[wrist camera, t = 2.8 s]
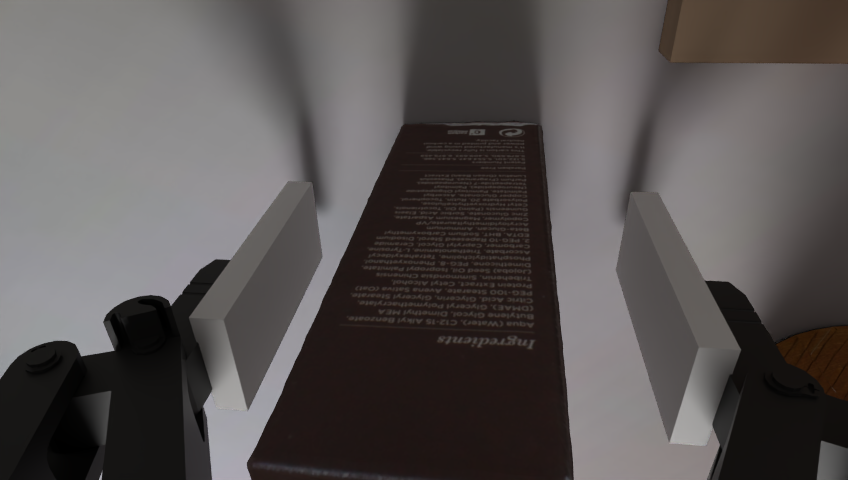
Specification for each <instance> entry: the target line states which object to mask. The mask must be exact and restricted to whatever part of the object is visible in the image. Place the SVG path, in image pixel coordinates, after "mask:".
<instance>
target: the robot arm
mask: <svg viewBox="0 0 848 480" xmlns="http://www.w3.org/2000/svg"><path fill="white" fill-rule="evenodd" d="M321 259H322V249H321V242H320V235H319V228H318V220H317V213H316V206H315V199H314V191H313V184H312V182H294V181H288V182H287V184H286V185H285V186H284V188H283V189H282V191H281V192H280V193H279V195H278V196H277V197H276V199H275V200H274V202H273V203H272V204H271V206H270V207H269V208H268V210H267V211H266V212H265V214H264V215H263V217H262V218H261V219H260V221H259V222H258V223H257V225H256V226H255V228H254V229H253V230H252V232H251V233H250V234H249V236H248V237H247V239H246V240H245V241H244V243H243V244H242V245H241V247H240V248H239V250H238V251H237V252H236V254H235V255H234V256H233V258H232V259H231V260H218V259H216V260H214V261H213V262H211V263H210V264H208V265H207V266H205V267H204V268H202V269H200V270H199V272H198V273H197V274H196V275H195V277H194V278H193V279H192V281H191V282H190V285H189V284H188V286H187V287H186V288H185V289H184V291H183V292H182V295H181V294H180V296H179V297H178V298H177V299H176V301H175V302H174V303H173V304H172V306H170V303H169V301H168V300H167V299H165V298H163V297H161V296H153V295H149V296H140V297H136V298H133V299H130V300H127V301H125V302H123V303H121V304H119V305H117V306H116V307H114V308H113V309H112V310H111V311H110V312H109V313H108V314H107V315H106V317H105V319H104V321H103V323H104V325H105V328H106V330H107V333H108V335H109V337H110V340H111V342H112V345H113V347H114V350H115V351H111V352H105V353H99V354H93V355H87V356H81V355H80V353H79V351H78V349H77V347H76V345H75V344H73V343H71V342H68V341H53V342H48V343H44V344H41V345H38V346H36V347H33V348H31V349H29V350H28V351H26V352H25V353H23V354H22V355H20V356H18V357H17V359H16V360H15V361H14V362H13V363H12V364H11V365H10V366H9V368H8V369H7V370H6V372H5V373H4V375H3V376H2V378H1V379H0V480H99V478H100V475H101V473H102V470H103V473H102V480H212V475H211V463H210V451H209V439H208V427H207V417H206V414H205V411H204V408H203V405H204V403H205V402H206V400H207V398H208V396H209V395H210V393H211V392H212V395H213V398H214V402H215V405H216V408H217V409H227V410H240V411H248V410H249V407H250V405H251V403H252V401H253V399H254V397H255V395H256V393H257V391H258V389H259V387H260V385H261V383H262V381H263V379H264V377H265V374H266V372H267V370H268V368H269V366H270V364H271V362H272V360H273V358H274V356H275V354H276V352H277V350H278V348H279V346H280V344H281V341H282V339H283V337H284V335H285V333H286V331H287V329H288V327H289V325H290V323H291V321H292V319H293V317H294V315H295V313H296V310H297V308H298V306H299V304H300V302H301V300H302V298H303V296H304V294H305V292H306V290H307V288H308V286H309V284H310V282H311V280H312V277H313V275H314V273H315V271H316V269H317V267H318V265H319V263H320V261H321ZM616 272H617V275H618V278H619V282H620V285H621V288H622V291H623V295H624V298H625V301H626V304H627V307H628V311H629V314H630V317H631V320H632V324H633V327H634V330H635V333H636V337H637V340H638V343H639V346H640V350H641V353H642V356H643V359H644V363H645V366H646V369H647V372H648V376H649V379H650V382H651V385H652V389H653V392H654V395H655V398H656V401H657V405H658V408H659V411H660V414H661V418H662V421H663V424H664V427H665V431H666V434H667V437H668V440H669V443H673V444H686V445H700V446H707V443H708V440H709V437H710V434H711V432H712V429H713V428H714V431H715V433H716V436H717V438H718V441H719V443H720V447H719V449H718V452H717V454H716V457H715V460H714V462H713V465H712V468H711V470H710V473H709V476H708V478H707V480H848V401H846V400H842V399H839V398H836V397H833V396H830V395H827V394H825V392H824V389H823V387H822V386H821V385H820V384H819V382H818V381H817V380H816V379H815V378H814V377H812V376H811V375H810V374H808V373H807V372H806V371H804V370H802V369H800V368H798V367H795V366H793V365H791V364H788V363H787V362H786V361H785V359H784V358H783V356H782V354H781V353H780V351H779V349H778V348H777V346H776V344H775V343H774V341H773V340H772V338H771V336H770V335H769V333H768V331H767V330H766V328H765V326H764V325H763V324H761V320H760V318H759V317H758V315H757V313H756V312H754V308H753V307H752V305H751V303H750V302H749V300H748V299H747V297H746V295H745V294H743V293H742V292H741V291H740V290H738V289H737V288H736V287H735V286H733V285H732V284H731V283H729V282H721V281H704V279H703V277H702V275H701V273H700V271H699V269H698V267H697V265H696V264H695V262H694V260H693V258H692V256H691V254H690V252H689V250H688V248H687V247H686V245H685V243H684V241H683V239H682V237H681V235H680V233H679V231H678V229H677V228H676V226H675V224H674V222H673V220H672V218H671V216H670V214H669V212H668V211H667V209H666V207H665V205H664V203H663V201H662V199H661V197H660V195H659V193H654V192H631V193H630V198H629V204H628V209H627V214H626V219H625V225H624V230H623V235H622V241H621V246H620V251H619V257H618V262H617V267H616Z"/></svg>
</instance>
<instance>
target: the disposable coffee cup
mask: <svg viewBox="0 0 848 480" xmlns="http://www.w3.org/2000/svg"><path fill="white" fill-rule="evenodd" d="M776 346H777V348H778V349H779V351H780V353H781V354H782V356H783V358H784V359H785V361H786V362H787V363H788V364H791V365H793V366H795V367H798V368H800V369H802V370H804V371H806V372H807V373H808V374H810V375H811V376H812V377H814V378H815V379H816V380H817V381H818V382H819V384H820V385H821V386H822V387H823V389H824V392H825V394H827V395H830V396H833V397H836V398H839V399H842V400H846V401H848V326H836V327H828V328H823V329H817V330H812V331H808V332H805V333H801V334H798V335H795V336H792V337H790V338H788V339H786V340H784V341H782V342H780V343H778V344H776Z"/></svg>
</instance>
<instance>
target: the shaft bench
mask: <svg viewBox="0 0 848 480" xmlns="http://www.w3.org/2000/svg"><path fill="white" fill-rule="evenodd" d="M659 52H660V53H661V54H662V55H663V56H664V57H665V58H666V59H667V60H668V61H669V62H671V63H823V64H848V0H668V4H667V9H666V14H665V20H664V25H663V30H662V36H661V41H660V46H659Z"/></svg>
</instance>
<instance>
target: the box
mask: <svg viewBox="0 0 848 480" xmlns="http://www.w3.org/2000/svg"><path fill="white" fill-rule="evenodd" d="M551 229H552V226H551V221H550V210H549V199H548V188H547V178H546V165H545V154H544V143H543V131H542V126H541V125H540V124H534V123H523V122H518V121H511V122H503V123H501V122H487V123H486V122H470V123H439V124H411V125H409V124H404V125H403V126H402V127H401V129H400V132H399V134H398V136H397V138H396V140H395V143H394V145H393V147H392V149H391V151H390V153H389V155H388V158H387V160H386V161H385V164H384V166H383V168H382V171H381V173H380V175H379V177H378V179H377V181H376V183H375V185H374V188H373V190H372V193H371V195H370V197H369V198H368V201H367V204H366V206H365V209H364V211H363V213H362V216H361V218H360V220H359V222H358V224H357V227H356V229H355V231H354V234H353V236H352V238H351V240H350V242H349V245H348V247H347V249H346V251H345V253H344V255H343V257H342V259H341V261H340V264H339V266H338V268H337V271H336V273H335V275H334V277H333V279H332V282H331V285H330V286H329V288H328V290H327V292H326V294H325V296H324V298H323V301H322V304H321V306H320V309H319V311H318V313H317V315H316V318H315V320H314V322H313V324H312V326H311V328H310V330H309V332H308V334H307V336H306V338H305V341H304V344H303V346H302V349H301V351H300V353H299V355H298V357H297V359H296V361H295V363H294V366H293V368H292V370H291V372H290V374H289V376H288V378H287V380H286V383H285V386H284V388H283V391H282V394H281V396H280V398H279V400H278V402H277V404H276V406H275V409H274V411H273V412H272V414H271V416H270V418H269V420H268V422H267V424H266V426H265V428H264V431H263V433H262V435H261V437H260V439H259V442H258V444H257V446H256V448H255V450H254V451H253V453H252V455H251V457H250V458H249V460H248V462H247V468H248V471H249V473H250V476H251V480H574V477H573V457H572V446H571V438H570V429H569V416H568V400H567V386H566V378H565V366H564V357H563V341H562V335H561V326H560V312H559V302H558V296H557V285H556V274H555V263H554V251H553V244H552V235H551Z"/></svg>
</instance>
